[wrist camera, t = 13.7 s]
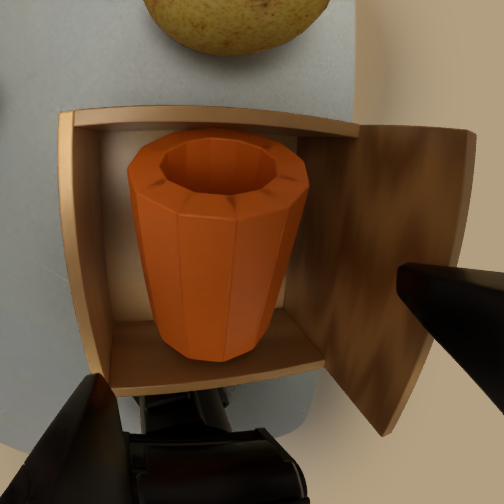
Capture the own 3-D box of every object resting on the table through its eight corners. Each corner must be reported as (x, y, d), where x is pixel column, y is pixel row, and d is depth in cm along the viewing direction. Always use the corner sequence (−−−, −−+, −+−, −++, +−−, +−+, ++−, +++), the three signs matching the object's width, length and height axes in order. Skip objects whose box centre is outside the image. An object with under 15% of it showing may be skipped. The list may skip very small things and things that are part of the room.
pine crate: (287, 310, 22) (391, 433, 11) (107, 326, 18) (96, 496, 7) (303, 128, 18) (477, 133, 7) (91, 123, 14) (-18, 88, 3)
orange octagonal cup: (290, 333, 16) (344, 194, 10) (179, 379, 13) (155, 241, 7) (236, 255, 19) (254, 121, 13) (140, 284, 17) (117, 142, 11)
